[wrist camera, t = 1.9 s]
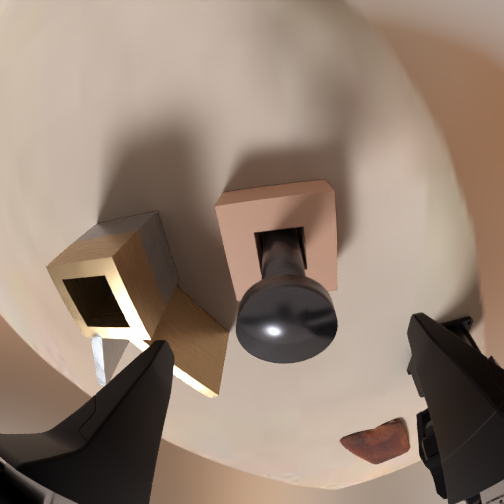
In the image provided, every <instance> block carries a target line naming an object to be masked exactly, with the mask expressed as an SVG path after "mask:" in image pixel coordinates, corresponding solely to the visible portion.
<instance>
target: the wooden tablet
mask: <svg viewBox="0 0 504 504" xmlns="http://www.w3.org/2000/svg"><path fill="white" fill-rule="evenodd" d="M340 442H341V444H342V445H343V446H344V447H345V448H346V449H348V450H349V451H350V452H352V453H353V454H355V455H357V456H358V457H360V458H362V459H364V460H366V461H368V462H370V463H372V464H380V463H382V462H385V461H387V460H390V459H392V458H395V457H397V456H400V455H402V454H404V453H406V452H408V451H409V449H410V445H409V442H408V439H407V435H406V432H405V430H404V427H403V424H402V423H401V422H400V421H399V420H398V419H394V420H391V421H389V422H387V423H384V424H382V425H380V426H378V427H376V428H375V429H371V430H365V431H361V432H358V433H354V434H351V435H348V436H346V437H343V438H342V439H341V440H340Z"/></svg>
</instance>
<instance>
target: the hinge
mask: <svg viewBox="0 0 504 504" xmlns="http://www.w3.org/2000/svg"><path fill="white" fill-rule="evenodd" d="M46 268H47V270H48V272H49V274H50V276H51V278H52V280H53V282H54V284H55V286H56V288H57V290H58V292H59V294H60V296H61V298H62V300H63V301H64V303H65V305H66V307H67V309H68V310H69V312H70V314H71V315H72V317H73V319H74V320H75V322H76V324H77V325H78V327H79V329H80V330H81V332H82V333H83V335H84V337H91V339H92V348H93V356H94V363H95V370H96V376H97V382H98V384H100V385H102V386H105V385H107V384H108V383H109V381H110V379H111V377H112V375H113V373H114V371H115V369H116V367H117V365H118V363H119V361H120V359H121V356H122V354H123V352H124V350H125V348H126V347H127V345H128V343H129V341H131V342H132V343H133V344H135V345H136V346H137V347H138V348H140V349H141V350H142V351H144V350H145V349H146V348H148V347H149V346H150V345H151V344H152V343H153V342H154V341H156V340H166V341H167V342H168V343H169V345H170V347H171V349H172V351H173V353H174V356H175V362H174V370H173V374H174V375H176V376H177V377H179V378H180V379H181V380H183V381H184V382H186V383H187V384H189V385H190V386H192V387H193V388H195V389H196V390H198V391H200V392H201V393H203V394H204V395H206V396H207V397H209V398H212V397H215V396H218V395H219V390H220V384H221V378H222V372H223V366H224V360H225V354H226V348H227V342H228V337H229V332H228V331H227V330H225V329H224V328H223V327H222V326H221V325H220V324H218V323H217V322H216V321H215V320H214V319H213V318H212V317H211V316H209V315H208V314H207V313H206V312H205V311H204V310H203V309H202V308H200V307H199V306H198V305H197V304H196V303H195V302H194V301H193V300H192V299H191V298H190V297H188V296H187V295H186V294H185V293H184V292H183V291H182V290H181V289H180V288H179V287H178V286H177V283H178V281H179V277H178V275H177V272H176V269H175V266H174V263H173V260H172V257H171V254H170V251H169V248H168V244H167V241H166V238H165V235H164V232H163V228H162V225H161V222H160V218H159V215H158V211H154V212H149V213H144V214H139V215H135V216H130V217H125V218H121V219H116V220H112V221H107V222H103V223H99V224H96V225H95V226H93V227H92V228H91V229H90V230H88V231H87V232H86V233H85V234H83V235H82V236H81V237H80V238H79V239H77V240H76V241H75V242H74V243H73V244H71V245H70V246H69V247H68V248H67V249H65V250H64V251H63V252H62V253H61V254H60V255H59V256H58V257H56V258H55V259H54V260H53V261H52V262H51V263H50V264H49V265H48V266H46Z"/></svg>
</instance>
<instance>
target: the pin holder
mask: <svg viewBox="0 0 504 504" xmlns="http://www.w3.org/2000/svg"><path fill="white" fill-rule="evenodd" d="M215 210H216V214H217V219H218V223H219V227H220V232H221V236H222V240H223V245H224V249H225V253H226V258H227V262H228V266H229V270H230V274H231V278H232V283H233V287H234V291H235V295H236V299H237V301H241V299H242V297H243V295H244V294H245V293H246V291H247V290H248V289H249V288H250V287H251V286H253V285H254V284H255V283H257V282H259V281H261V279H262V259H263V253H262V249H261V243H260V237H259V232H262V231H270V230H278V229H286V228H295V227H301V234H302V246H303V249H300V250H301V255H302V260H303V264H304V269H305V274H306V277H309V278H311V279H313V280H315V281H317V282H318V283H320V284H321V285H322V286H323V287H324V288H325V289H326V290H327V291H335V290H337V232H336V208H335V192H334V190H333V189H332V188H331V186H330V185H329V184H328V183H327V182H326V180H315V181H306V182H297V183H288V184H280V185H272V186H265V187H257V188H250V189H243V190H237V191H230V192H224V193H222V195H221V196H220V198H219V200H218V201H217V203H216V205H215Z"/></svg>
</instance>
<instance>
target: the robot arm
mask: <svg viewBox="0 0 504 504" xmlns="http://www.w3.org/2000/svg"><path fill="white" fill-rule="evenodd" d="M472 322H473V319H472V318H471V317H466V318H463V319H460V320H456V321H453V322H449V323H446V324H442V325H440V324H439V323H437V322H436V321H434V320H433V319H431V318H430V317H428V316H427V315H425V314H424V313H416V314H413V315H412V316H411V319H410V323H409V327H408V331H407V335H408V340H409V343H410V347H411V351H412V358H411V360H410V363H409V366H408V369H407V373H408V374H409V375H410V374H411V375H412V377H413V380H414V383H415V385H416V388H417V391H418V393H419V396H420V397H425V400H426V403H427V406H428V408H427V409H426V410H424V411H423V412H422V411H421V412H420V413H418V414H417V415H416V416H417V430H418V442H419V455H420V458H421V460H423V463H424V464H425V466H426V467H427V468H428V469H429V470H430V471H431V474H432V476H433V479H434V483H435V487H436V491H437V493H438V494H439V495H440V496H441V497H442V498H443V499H447V498H448V504H456V503H458V502H460V501H463V500H464V501H466V503H467V504H504V369H502V368H501V367H500V365H499V364H498V363H497V362H496V360H495V359H494V358H493V357H492V356H491V357H490V358H487V357H486V356H484V355H483V354H482V353H481V351H480V350H479V348H478V346H477V345H476V343H475V341H474V340H473V338H472V337H471V335H470V333H469V329H470V327H471V325H472ZM174 362H175V356H174V353H173V351H172V349H171V347H170V345H169V343H168V342H167V341H166V340H156V341H154V342H153V343H152V344H151V345H150V346H149V347H148V348H146V349H145V350H144V351H143V352H142V353H141V354H140V355H139V356H138V357H137V358H135V359H134V360H133V361H132V362H131V363H130V364H129V365H128V366H127V367H125V368H124V369H123V370H122V371H121V372H120V373H119V374H118V375H117V376H115V377H114V378H113V379H112V380H111V381H110V382H109V383H108V384H107V385H105V386H104V387H103V388H102V389H101V390H100V391H99V392H98V393H97V394H96V395H94V396H93V397H92V398H91V399H90V400H89V401H88V402H86V403H85V404H84V405H83V406H82V407H80V408H79V409H78V410H77V411H75V412H74V413H73V414H71V415H70V416H69V417H68V418H66V419H65V420H63V421H62V422H61V423H59V424H58V425H57V426H55V427H54V428H52V429H51V430H49V431H46V432H43V433H36V434H0V457H1V458H2V459H3V460H5V461H6V464H4V463H3V462H1V461H0V504H149V501H150V494H151V489H152V483H153V477H154V471H155V466H156V461H157V455H158V450H159V445H160V441H161V436H162V431H163V426H164V422H165V417H166V413H167V408H168V404H169V399H170V394H171V388H172V379H173V370H174Z"/></svg>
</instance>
